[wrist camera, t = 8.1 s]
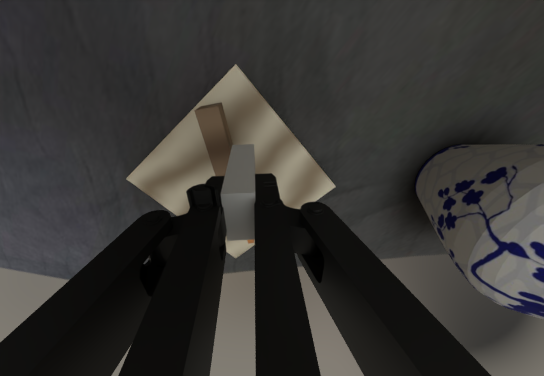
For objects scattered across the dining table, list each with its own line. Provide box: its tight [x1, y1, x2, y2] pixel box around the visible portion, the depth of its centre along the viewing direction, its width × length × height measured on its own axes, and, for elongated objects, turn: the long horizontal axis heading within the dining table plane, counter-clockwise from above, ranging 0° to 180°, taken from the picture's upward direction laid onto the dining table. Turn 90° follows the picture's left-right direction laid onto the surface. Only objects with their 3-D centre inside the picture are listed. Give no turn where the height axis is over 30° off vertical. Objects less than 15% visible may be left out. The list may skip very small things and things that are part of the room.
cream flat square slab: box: [126, 64, 336, 258], centre depth 33 cm, size 22×22×1 cm
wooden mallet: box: [194, 102, 254, 244], centre depth 29 cm, size 22×4×7 cm, turn 10°
